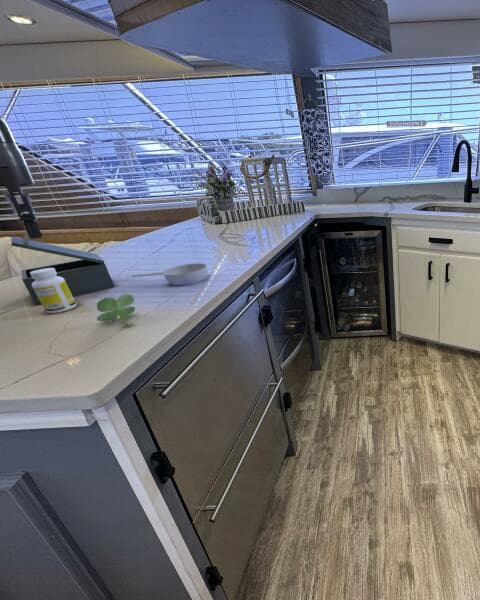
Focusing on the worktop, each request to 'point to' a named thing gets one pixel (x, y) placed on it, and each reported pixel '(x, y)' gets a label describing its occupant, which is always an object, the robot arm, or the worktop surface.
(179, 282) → the saucepan
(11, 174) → the robot arm
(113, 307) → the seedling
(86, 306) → the worktop surface
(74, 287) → the bin
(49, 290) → the supplement bottle
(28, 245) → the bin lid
